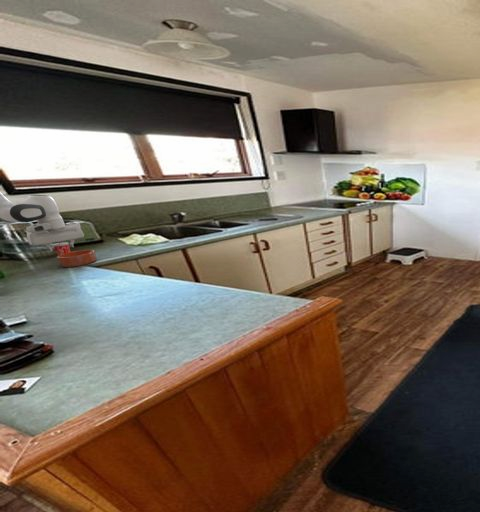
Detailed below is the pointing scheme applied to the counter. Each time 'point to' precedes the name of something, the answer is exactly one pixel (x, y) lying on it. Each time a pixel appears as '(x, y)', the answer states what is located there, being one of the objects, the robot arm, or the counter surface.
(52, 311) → the counter surface
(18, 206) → the robot arm
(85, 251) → the bowl
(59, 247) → the beverage cup
